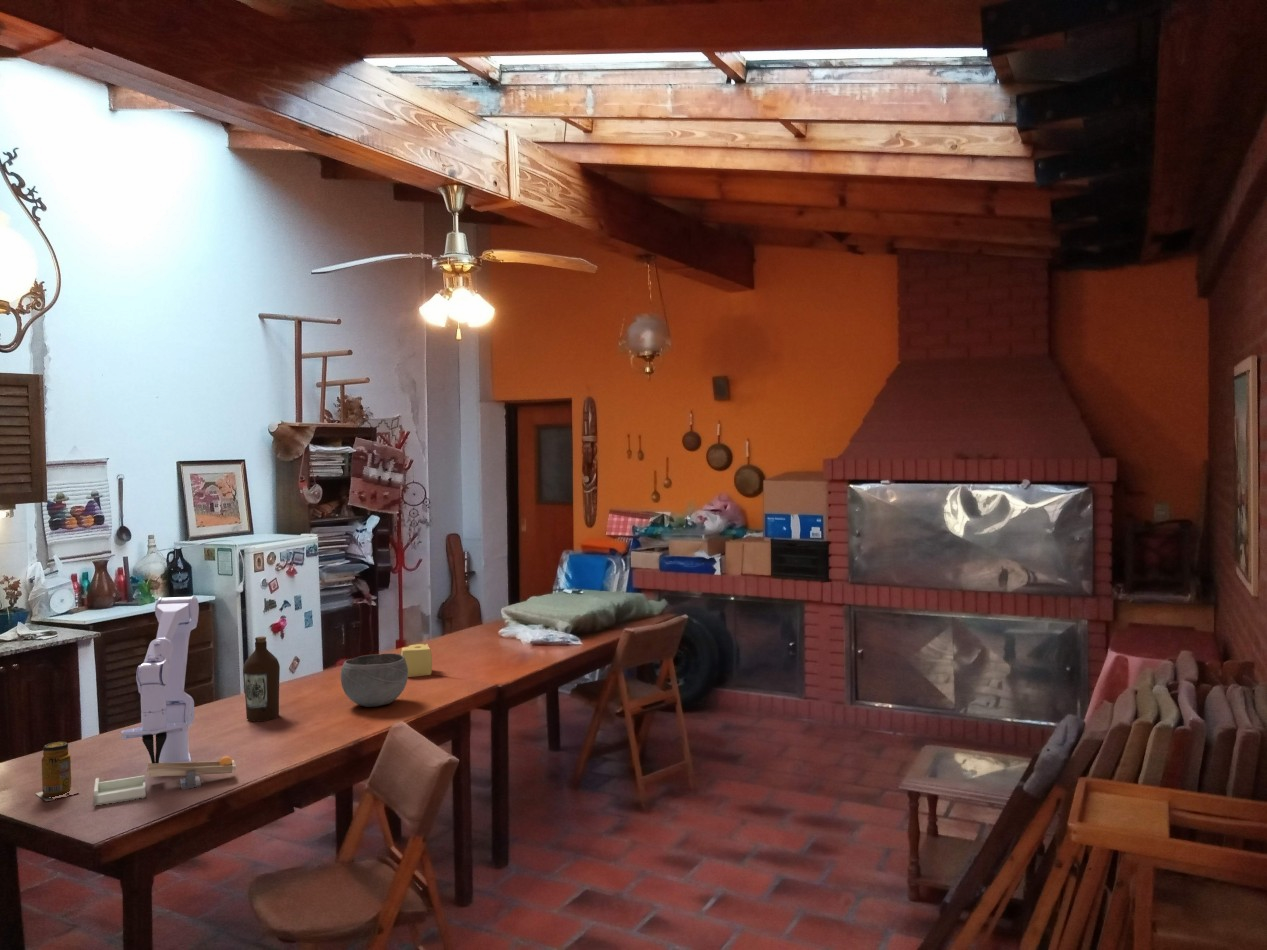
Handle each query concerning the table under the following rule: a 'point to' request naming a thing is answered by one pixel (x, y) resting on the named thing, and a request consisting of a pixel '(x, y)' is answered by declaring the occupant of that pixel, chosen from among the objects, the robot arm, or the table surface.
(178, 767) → the lever
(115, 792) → the dish
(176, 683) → the robot arm
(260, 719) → the olive oil
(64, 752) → the condiment
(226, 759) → the ball
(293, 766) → the table surface
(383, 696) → the bowl
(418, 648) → the cheese
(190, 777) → the pivot
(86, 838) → the table surface
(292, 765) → the table surface
